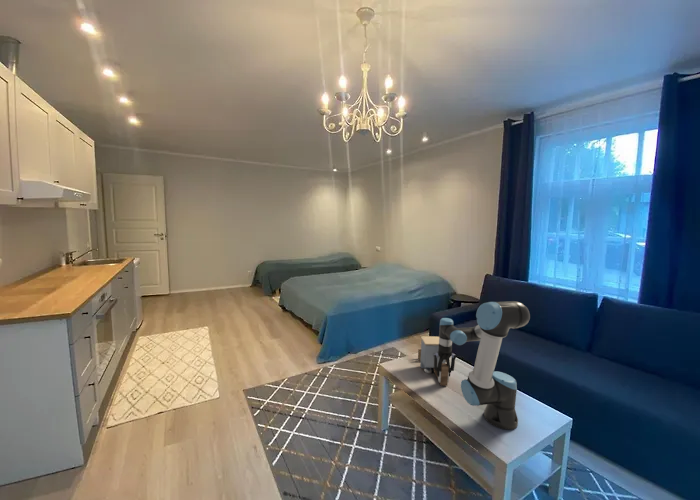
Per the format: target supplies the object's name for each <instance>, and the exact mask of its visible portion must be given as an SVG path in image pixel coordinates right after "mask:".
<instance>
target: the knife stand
mask: <svg viewBox="0 0 700 500" xmlns="http://www.w3.org/2000/svg"><path fill="white" fill-rule="evenodd" d="M417 352H418V353H417V359H418V362H420V361H421V348H419V349H418V351H417ZM445 363H447V362H446V360H445Z"/></svg>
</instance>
